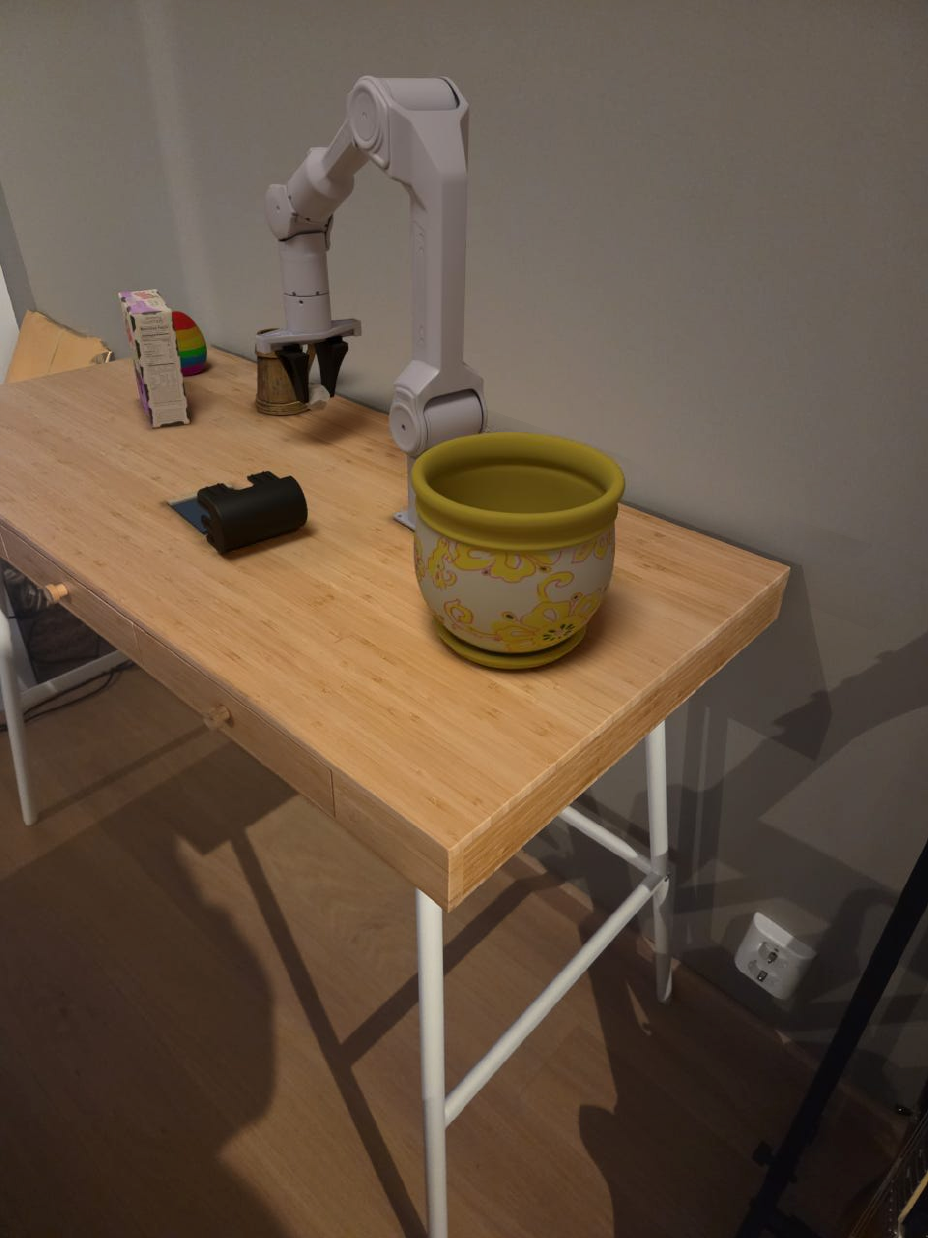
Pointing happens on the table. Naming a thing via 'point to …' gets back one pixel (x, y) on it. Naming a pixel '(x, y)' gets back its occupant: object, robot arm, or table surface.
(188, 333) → the decorative egg
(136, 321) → the candy box
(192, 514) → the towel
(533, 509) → the flowerpot
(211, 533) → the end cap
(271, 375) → the wooden mug
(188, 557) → the table surface
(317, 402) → the game die
